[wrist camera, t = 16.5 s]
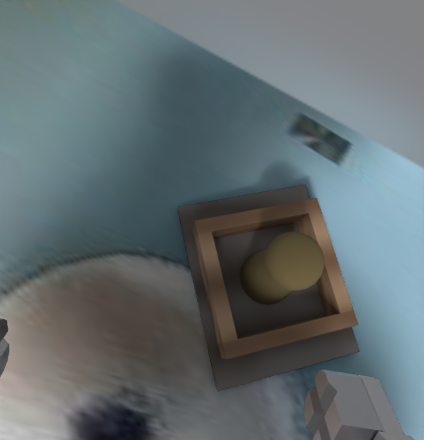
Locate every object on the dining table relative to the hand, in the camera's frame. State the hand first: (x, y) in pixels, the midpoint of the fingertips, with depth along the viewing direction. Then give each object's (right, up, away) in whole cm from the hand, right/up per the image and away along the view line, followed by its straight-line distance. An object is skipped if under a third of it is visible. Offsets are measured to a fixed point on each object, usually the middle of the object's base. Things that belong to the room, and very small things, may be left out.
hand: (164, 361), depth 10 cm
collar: (+7, -3, +33) cm, 34 cm away
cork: (+7, -3, +32) cm, 33 cm away
